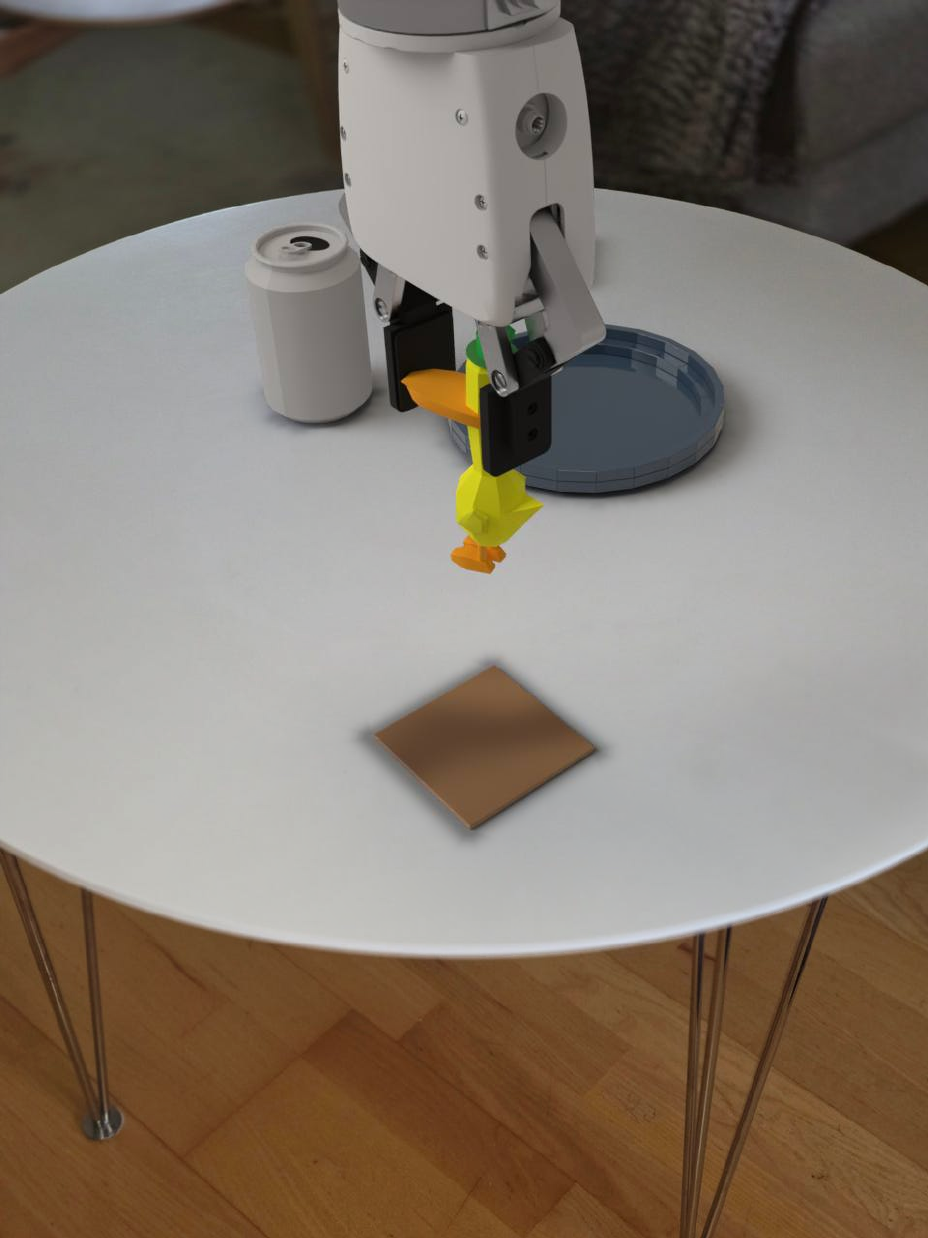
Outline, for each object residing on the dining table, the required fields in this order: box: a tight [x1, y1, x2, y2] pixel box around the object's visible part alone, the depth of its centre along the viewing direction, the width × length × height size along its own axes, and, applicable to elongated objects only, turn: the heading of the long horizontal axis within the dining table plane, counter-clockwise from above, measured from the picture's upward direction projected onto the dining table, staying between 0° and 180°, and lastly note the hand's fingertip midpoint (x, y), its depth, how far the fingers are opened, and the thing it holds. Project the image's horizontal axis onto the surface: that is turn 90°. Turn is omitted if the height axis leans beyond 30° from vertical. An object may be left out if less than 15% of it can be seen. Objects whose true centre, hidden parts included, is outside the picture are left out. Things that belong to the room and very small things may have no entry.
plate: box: [446, 323, 726, 494], centre depth 91 cm, size 18×18×2 cm
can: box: [243, 221, 374, 424], centre depth 91 cm, size 8×8×12 cm
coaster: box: [373, 664, 595, 831], centre depth 69 cm, size 8×8×1 cm
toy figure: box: [401, 324, 545, 575], centre depth 58 cm, size 7×4×12 cm, turn 59°
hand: (469, 425), depth 57 cm, fingers closed on toy figure, 5 cm apart
